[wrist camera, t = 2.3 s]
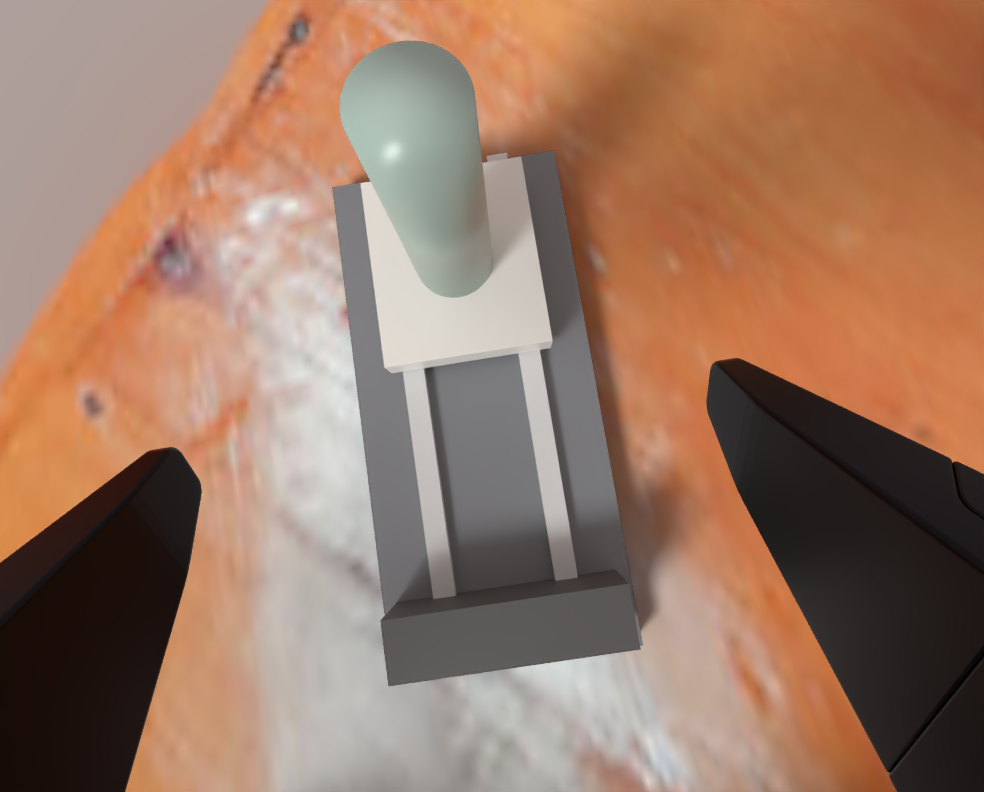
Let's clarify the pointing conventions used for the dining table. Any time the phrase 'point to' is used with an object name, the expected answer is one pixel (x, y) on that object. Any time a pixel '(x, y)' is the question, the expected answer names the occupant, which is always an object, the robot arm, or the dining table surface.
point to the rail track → (491, 480)
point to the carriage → (440, 215)
